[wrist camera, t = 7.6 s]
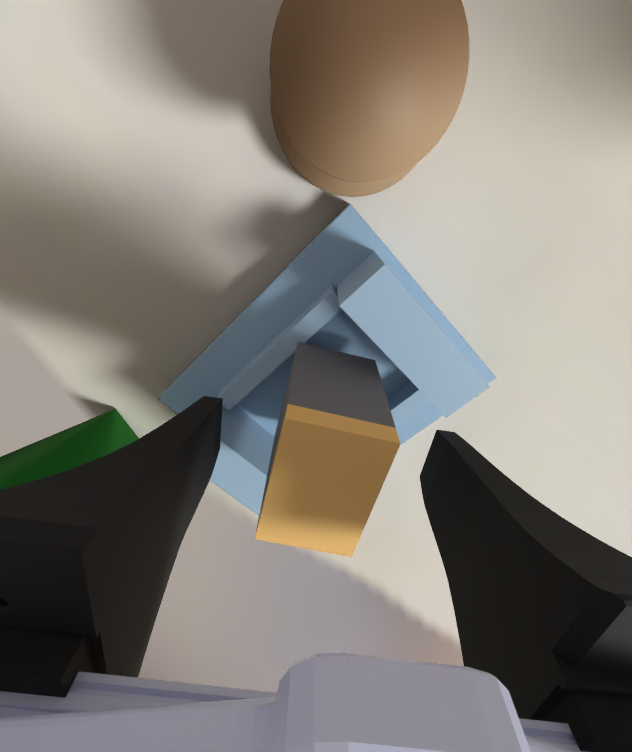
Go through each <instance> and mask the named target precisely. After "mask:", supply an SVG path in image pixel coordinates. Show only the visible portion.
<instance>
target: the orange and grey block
mask: <svg viewBox="0 0 632 752" xmlns="http://www.w3.org/2000/svg"><path fill="white" fill-rule="evenodd" d="M400 444H401V443H400V440H399V437H398V433H397V430H396V427H395V424H394V420H393V417H392V414H391V410H390V407H389V404H388V401H387V397H386V394H385V391H384V387H383V384H382V381H381V377H380V374H379V371H378V368H377V364H376V361H375V360H373V359H369V358H364V357H360V356H356V355H352V354H348V353H343V352H339V351H335V350H331V349H327V348H323V347H318V346H314V345H310V344H306V343H302V342H298V343H297V347H296V351H295V355H294V359H293V363H292V367H291V371H290V375H289V380H288V384H287V388H286V392H285V396H284V400H283V404H282V408H281V412H280V416H279V420H278V424H277V428H276V432H275V436H274V442H273V447H272V452H271V457H270V462H269V468H268V473H267V478H266V483H265V488H264V494H263V499H262V504H261V509H260V514H259V520H258V525H257V530H256V535H255V539H258V540H263V541H268V542H274V543H279V544H284V545H290V546H295V547H300V548H306V549H311V550H317V551H322V552H327V553H333V554H338V555H343V556H349V557H352V555H353V552H354V550H355V548H356V545H357V543H358V541H359V538H360V536H361V534H362V531H363V529H364V527H365V525H366V522H367V520H368V518H369V515H370V513H371V511H372V508H373V506H374V504H375V501H376V499H377V497H378V495H379V492H380V490H381V488H382V485H383V483H384V481H385V478H386V476H387V474H388V471H389V469H390V467H391V464H392V462H393V460H394V458H395V455H396V453H397V451H398V448H399V446H400Z"/></svg>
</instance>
